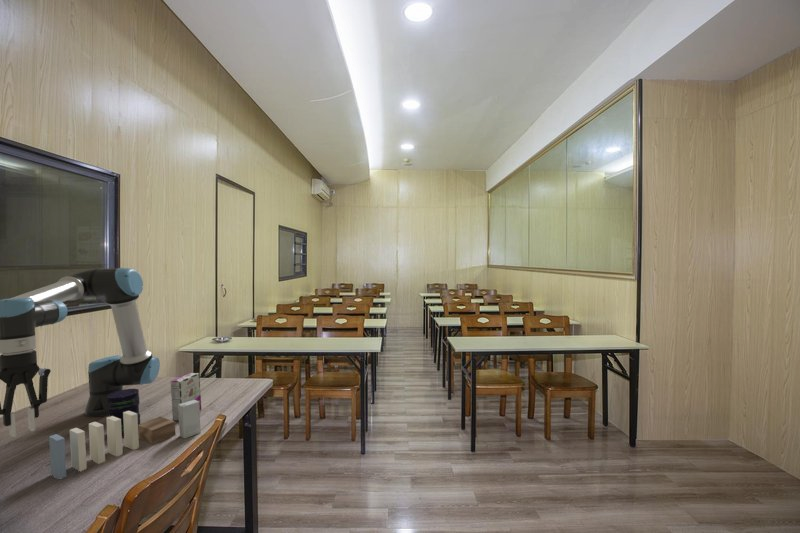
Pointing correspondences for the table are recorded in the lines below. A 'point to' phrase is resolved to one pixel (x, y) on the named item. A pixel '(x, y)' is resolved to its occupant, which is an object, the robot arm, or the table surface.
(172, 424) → the end block
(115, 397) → the storage jar
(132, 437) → the tile
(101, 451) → the tile
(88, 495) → the table surface
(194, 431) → the skincare box
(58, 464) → the tile
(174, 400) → the candy bar box
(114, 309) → the robot arm
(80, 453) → the tile
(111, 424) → the tile
